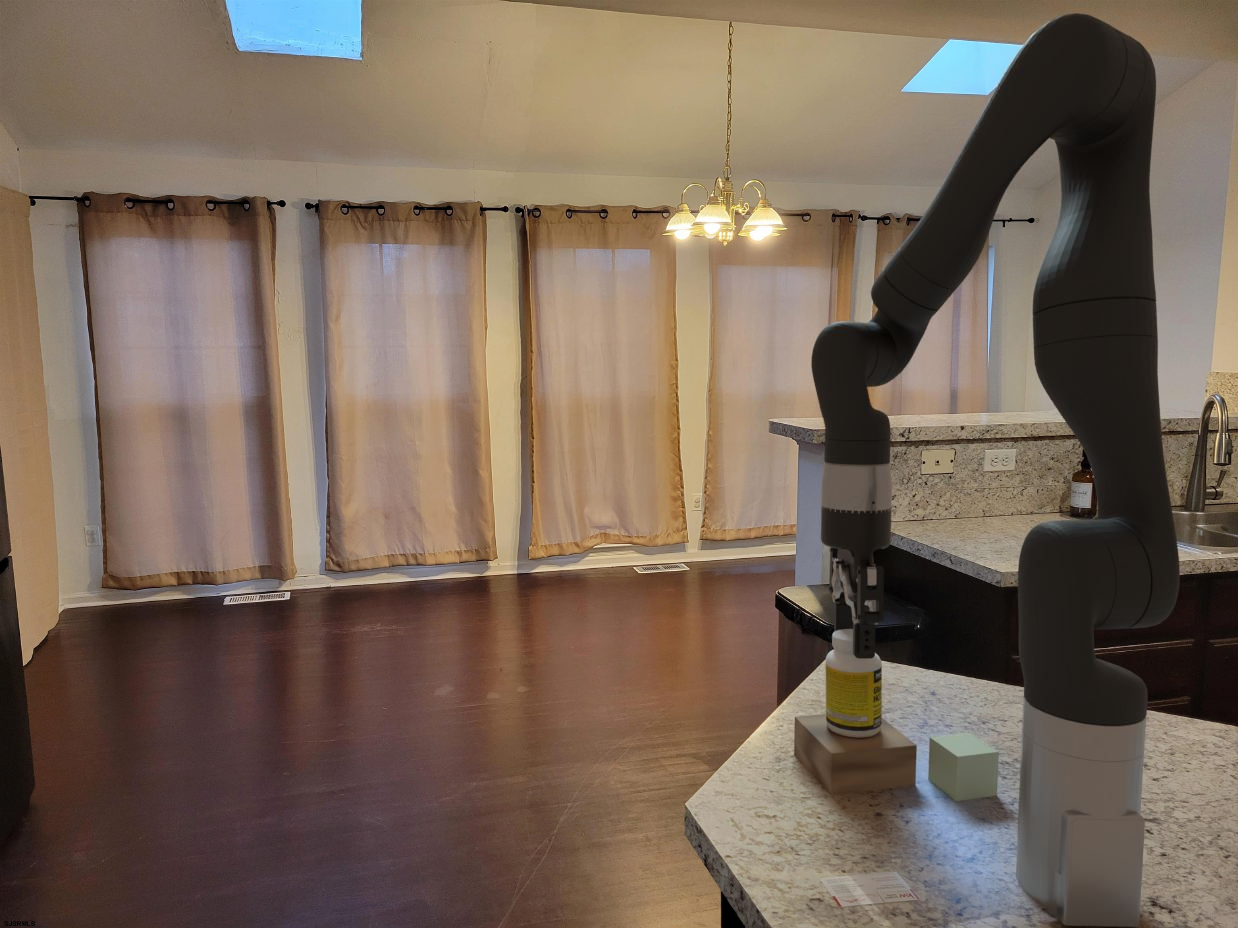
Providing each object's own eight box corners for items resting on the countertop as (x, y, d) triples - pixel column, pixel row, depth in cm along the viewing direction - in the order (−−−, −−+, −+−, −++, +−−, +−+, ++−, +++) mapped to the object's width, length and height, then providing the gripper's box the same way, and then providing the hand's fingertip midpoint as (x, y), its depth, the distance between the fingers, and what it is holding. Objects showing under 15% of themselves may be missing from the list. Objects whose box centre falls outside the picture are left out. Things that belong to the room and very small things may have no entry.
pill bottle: (885, 740, 91) (885, 644, 90) (827, 738, 93) (826, 642, 91) (878, 717, 98) (878, 626, 96) (824, 715, 99) (823, 625, 97)
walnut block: (915, 788, 91) (916, 745, 91) (830, 797, 89) (831, 753, 89) (871, 749, 101) (872, 709, 100) (794, 756, 99) (794, 716, 99)
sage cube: (997, 796, 89) (998, 751, 88) (956, 801, 88) (957, 756, 87) (967, 774, 94) (969, 732, 93) (928, 779, 93) (929, 736, 92)
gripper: (910, 512, 85) (907, 666, 86) (872, 495, 99) (869, 628, 100) (837, 512, 85) (834, 666, 86) (809, 495, 99) (807, 628, 101)
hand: (853, 645), depth 93 cm, fingers open, 8 cm apart
